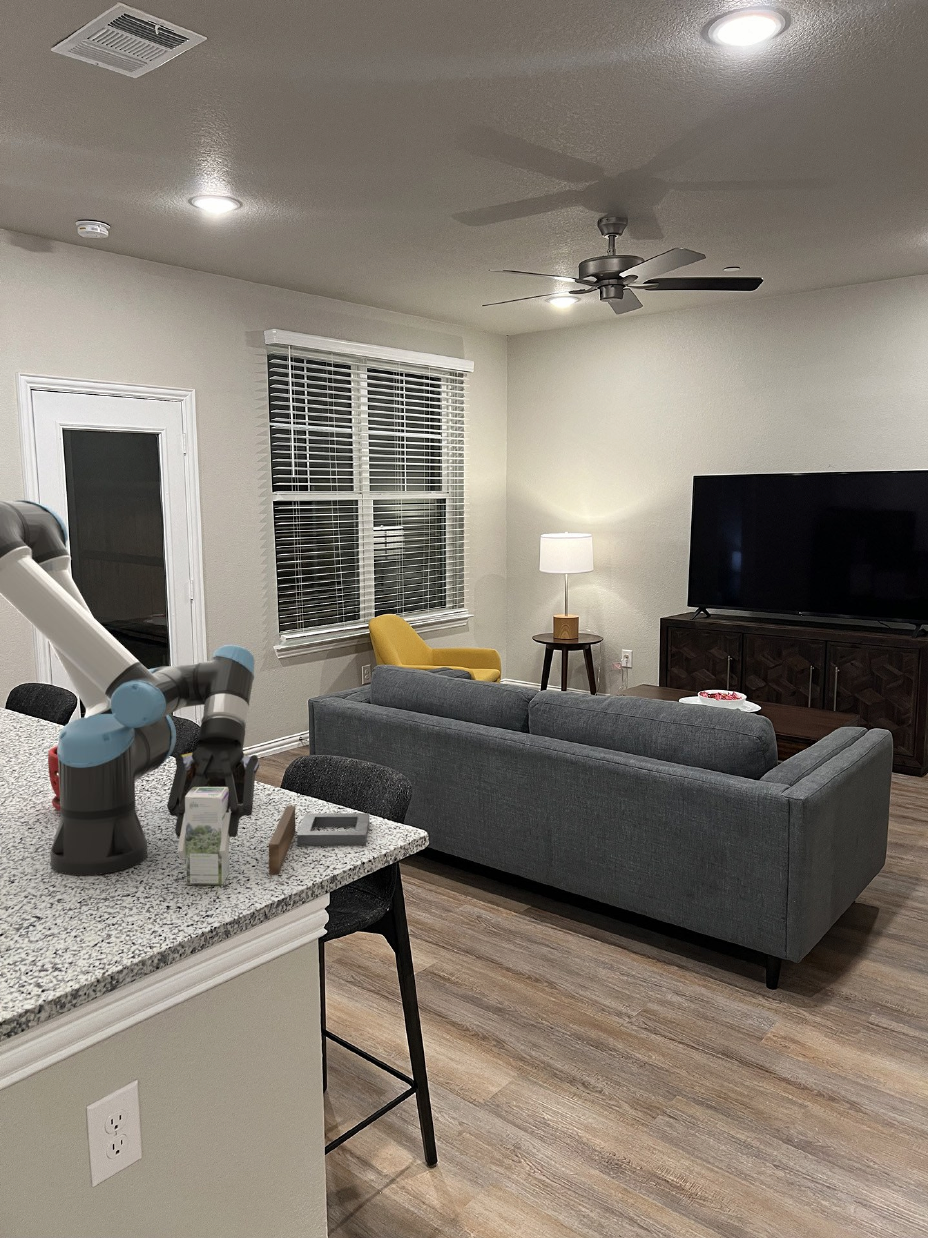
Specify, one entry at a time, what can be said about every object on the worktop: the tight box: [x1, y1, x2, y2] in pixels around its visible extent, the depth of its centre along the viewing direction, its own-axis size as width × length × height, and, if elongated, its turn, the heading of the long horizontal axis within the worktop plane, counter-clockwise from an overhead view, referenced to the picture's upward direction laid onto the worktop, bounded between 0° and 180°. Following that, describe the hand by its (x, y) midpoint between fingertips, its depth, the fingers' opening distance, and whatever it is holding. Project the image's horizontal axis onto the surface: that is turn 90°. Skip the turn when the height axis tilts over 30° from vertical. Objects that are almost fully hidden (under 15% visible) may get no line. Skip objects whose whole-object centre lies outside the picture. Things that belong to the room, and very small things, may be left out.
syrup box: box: [185, 787, 231, 886], centre depth 148 cm, size 6×6×14 cm
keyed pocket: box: [296, 812, 371, 847], centre depth 171 cm, size 12×12×2 cm
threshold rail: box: [268, 805, 296, 875], centre depth 161 cm, size 2×20×5 cm, turn 3°
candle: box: [180, 752, 248, 808], centre depth 188 cm, size 10×10×10 cm
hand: (202, 854), depth 145 cm, fingers closed on syrup box, 6 cm apart
